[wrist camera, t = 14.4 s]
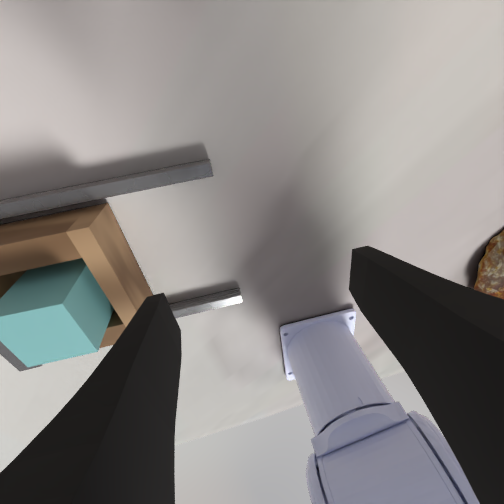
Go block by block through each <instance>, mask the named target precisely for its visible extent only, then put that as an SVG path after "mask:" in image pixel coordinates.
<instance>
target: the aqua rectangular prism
mask: <svg viewBox="0 0 504 504" xmlns="http://www.w3.org/2000/svg"><path fill="white" fill-rule="evenodd" d="M113 310H114V308H113V306H112V304H111V303H110V301H109V300H108V298H107V297H106V295H105V293H104V292H103V290H102V289H101V287H100V285H99V284H98V282H97V281H96V279H95V278H94V276H93V274H92V273H91V271H90V270H89V268H88V266H87V265H86V263H85V262H84V260H83V258H80V259H75V260H70V261H66V262H61V263H57V264H52V265H47V266H43V267H38V268H34V269H29V270H27V271H26V272H25V273H24V274H23V275H22V276H21V277H20V278H19V279H18V280H17V281H16V282H15V284H14V285H13V286H12V287H11V288H10V289H9V290H8V291H7V292H6V293H5V294H4V295H3V296H2V297H1V299H0V341H1V342H2V343H3V344H4V345H5V346H6V347H7V348H8V349H9V350H10V351H11V352H12V353H13V354H14V355H15V356H16V357H17V358H18V359H20V360H21V361H22V362H23V363H24V364H25V365H26V366H27V367H32V366H36V365H41V364H45V363H50V362H54V361H58V360H63V359H67V358H72V357H76V356H80V355H85V354H89V353H94V352H98V350H99V347H100V344H101V342H102V339H103V336H104V334H105V331H106V329H107V326H108V323H109V321H110V318H111V315H112V313H113Z"/></svg>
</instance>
